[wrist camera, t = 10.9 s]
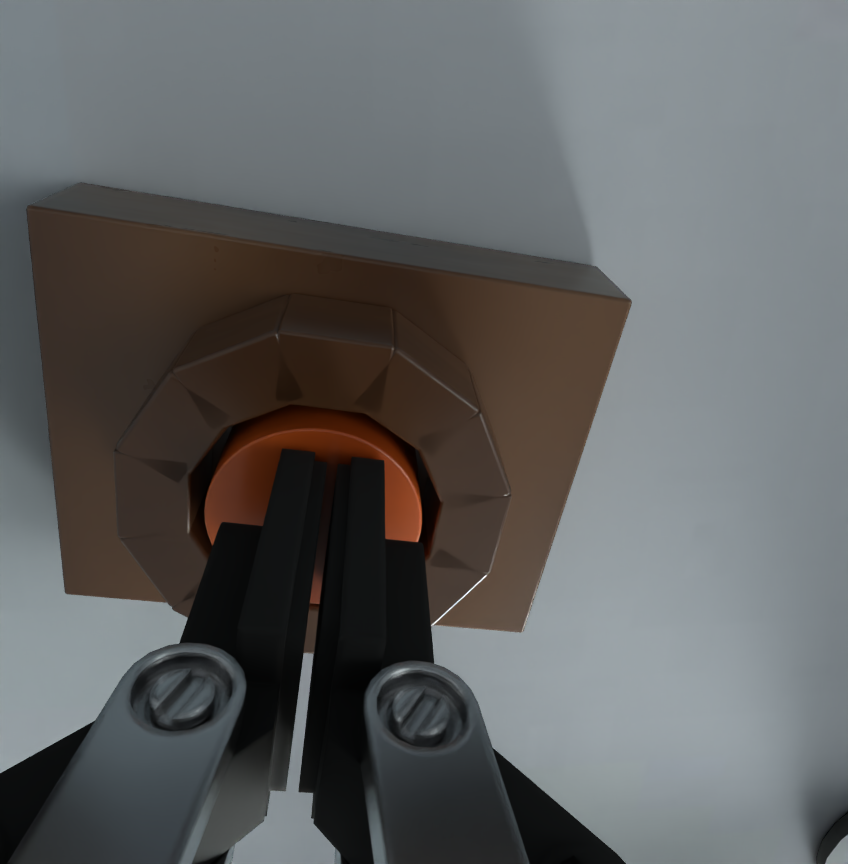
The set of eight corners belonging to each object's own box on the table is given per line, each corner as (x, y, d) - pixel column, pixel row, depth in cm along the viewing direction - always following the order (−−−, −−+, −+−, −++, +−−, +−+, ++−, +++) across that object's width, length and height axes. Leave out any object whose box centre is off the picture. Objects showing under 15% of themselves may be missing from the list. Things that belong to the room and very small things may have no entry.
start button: (221, 533, 14) (201, 595, 12) (227, 368, 12) (206, 415, 10) (401, 551, 14) (404, 612, 12) (432, 395, 12) (439, 444, 11)
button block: (100, 530, 16) (24, 662, 13) (78, 181, 12) (-39, 232, 9) (507, 570, 18) (539, 699, 14) (598, 265, 14) (673, 338, 10)
